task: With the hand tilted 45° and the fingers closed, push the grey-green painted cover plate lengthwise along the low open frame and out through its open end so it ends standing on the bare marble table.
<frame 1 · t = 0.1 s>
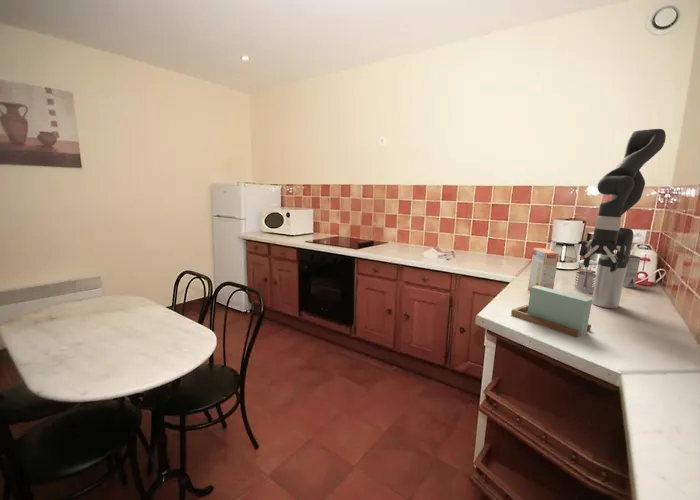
hand: (598, 269, 127), 17 cm above the worktop, tool pointing down, fingers open, 8 cm apart
cracker box: (539, 294, 150), on the worktop
open frame: (555, 324, 116), on the worktop
cover plate: (557, 308, 115), in the open frame
coffee box: (621, 285, 169), on the worktop
french press: (583, 290, 158), on the worktop
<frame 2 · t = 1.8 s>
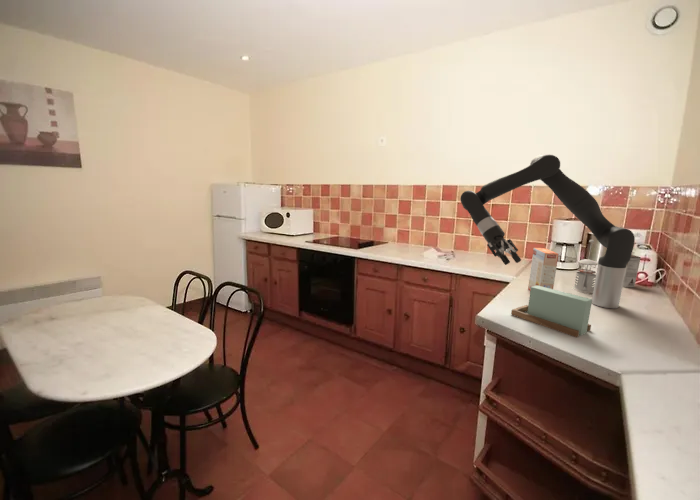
hand: (513, 262, 128), 19 cm above the worktop, tool tilted 45°, fingers open, 7 cm apart
nothing on the worktop moved.
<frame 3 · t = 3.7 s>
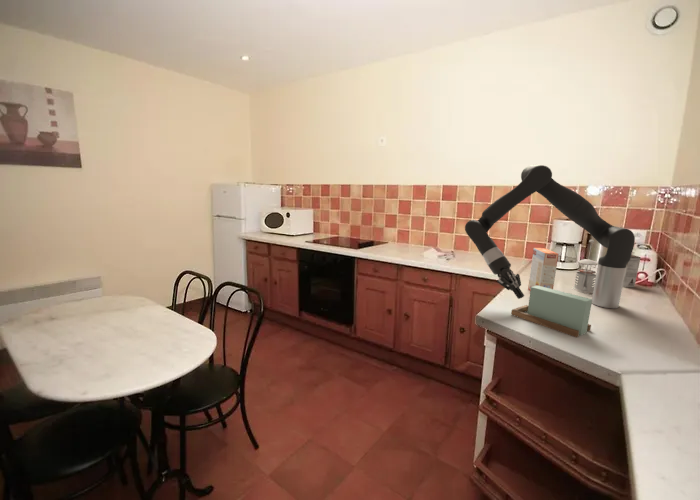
hand: (521, 297, 126), 6 cm above the worktop, tool tilted 45°, fingers closed
nothing on the worktop moved.
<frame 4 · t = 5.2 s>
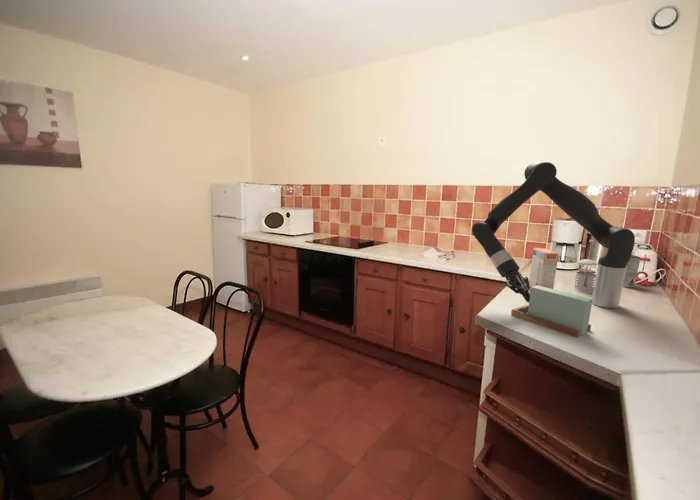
hand: (530, 301, 123), 6 cm above the worktop, tool tilted 45°, fingers closed
cover plate: (557, 308, 115), in the open frame, touching gripper
everything else where it was.
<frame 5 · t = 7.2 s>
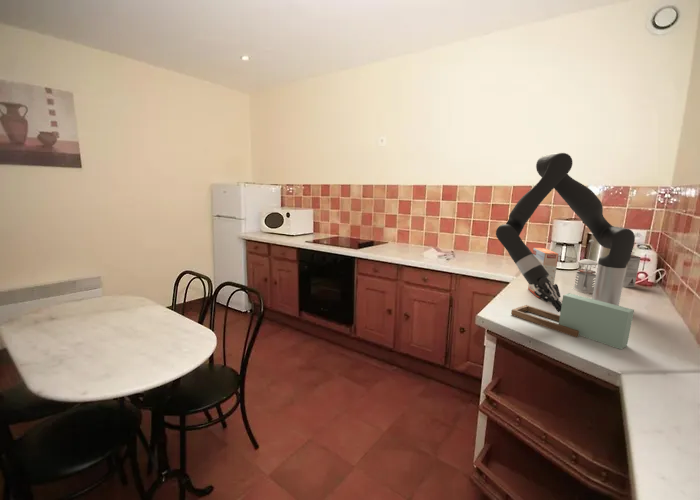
hand: (561, 310, 114), 6 cm above the worktop, tool tilted 45°, fingers closed
cover plate: (593, 319, 106), on the worktop, touching gripper
everything else where it was.
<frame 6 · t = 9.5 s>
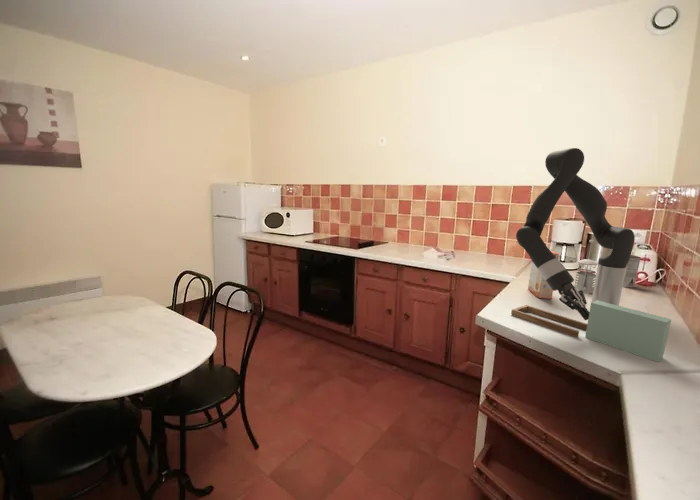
hand: (589, 318, 107), 6 cm above the worktop, tool tilted 45°, fingers closed
cover plate: (625, 328, 99), on the worktop, touching gripper
everything else where it was.
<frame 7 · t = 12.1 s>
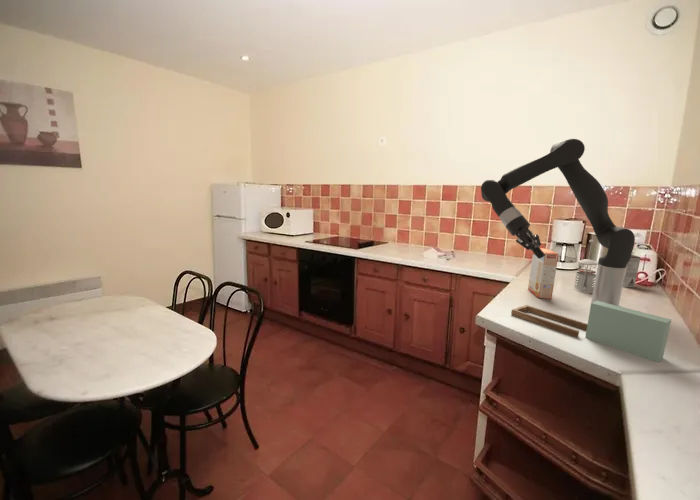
hand: (542, 257, 120), 23 cm above the worktop, tool tilted 45°, fingers closed
cover plate: (625, 329, 99), on the worktop
everything else where it was.
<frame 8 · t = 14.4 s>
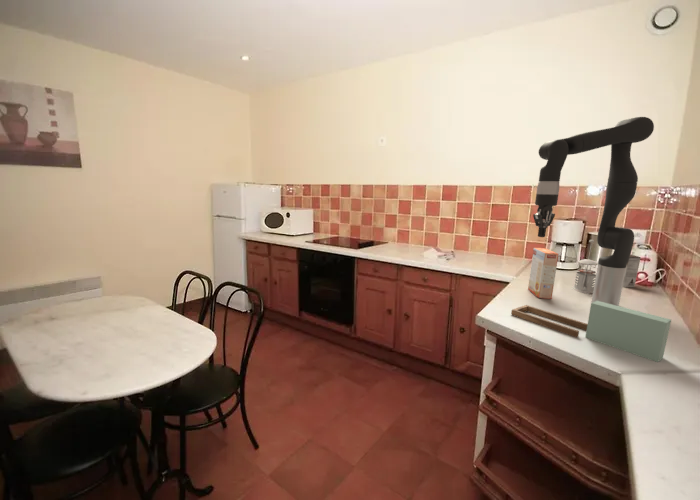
hand: (541, 236, 130), 29 cm above the worktop, tool pointing down, fingers closed
nothing on the worktop moved.
at the end: cover plate inside the target area (3.1 cm from its centre), on the worktop; cover plate tilted 0°; cover plate touching worktop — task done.
